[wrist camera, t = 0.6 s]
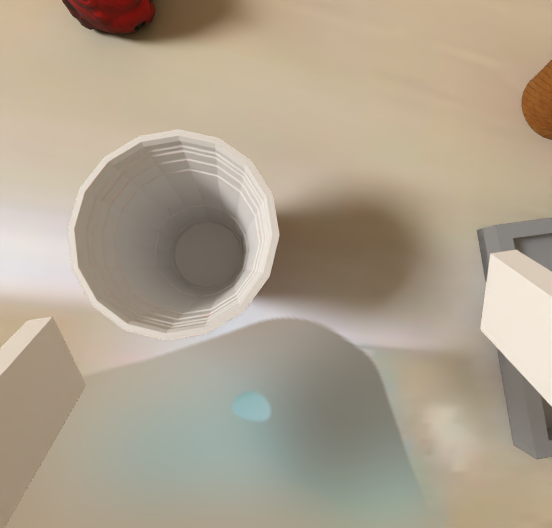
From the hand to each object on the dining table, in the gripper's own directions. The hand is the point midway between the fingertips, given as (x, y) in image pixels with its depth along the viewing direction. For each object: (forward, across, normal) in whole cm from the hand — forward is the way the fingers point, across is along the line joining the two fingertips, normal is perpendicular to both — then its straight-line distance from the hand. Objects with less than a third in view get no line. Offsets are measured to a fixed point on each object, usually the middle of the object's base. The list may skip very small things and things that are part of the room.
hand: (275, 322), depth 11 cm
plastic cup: (+18, +6, +5) cm, 20 cm away
